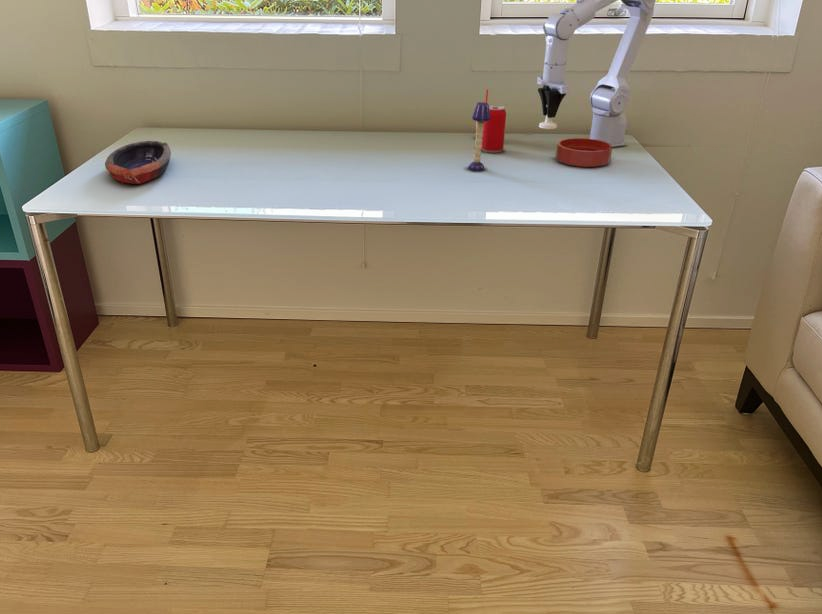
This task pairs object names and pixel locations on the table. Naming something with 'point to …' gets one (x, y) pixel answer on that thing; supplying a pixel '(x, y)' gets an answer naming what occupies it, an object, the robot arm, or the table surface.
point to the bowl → (583, 152)
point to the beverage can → (494, 130)
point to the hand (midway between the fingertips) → (549, 116)
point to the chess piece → (548, 123)
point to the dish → (138, 161)
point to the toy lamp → (479, 133)
